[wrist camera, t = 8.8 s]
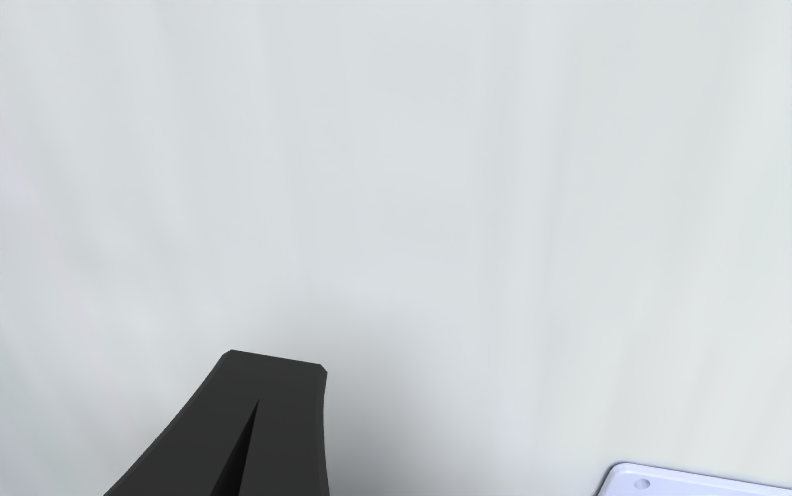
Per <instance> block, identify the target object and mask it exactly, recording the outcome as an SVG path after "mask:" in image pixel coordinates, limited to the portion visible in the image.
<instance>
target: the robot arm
mask: <svg viewBox="0 0 792 496" xmlns="http://www.w3.org/2000/svg"><path fill="white" fill-rule="evenodd" d="M326 379H327V371H326V370H325V369H324V368H323V367H322V366H321V364H315V363H309V362H303V361H297V360H291V359H285V358H279V357H273V356H267V355H261V354H255V353H249V352H243V351H237V350H230V351H228V352H226V353H225V354H223V355H222V356H221V358H220V359H219V361H218V362H217V364H216V365H215V367H214V368H213V369H212V371H211V372H210V373H209V375H208V376H207V377H206V379H205V380H204V381H203V383H202V384H201V385H200V387H199V388H198V389H197V391H196V392H195V393H194V394H193V396H192V397H191V398H190V399H189V401H188V402H187V403H186V404H185V406H184V407H183V408H182V409H181V410H180V412H179V413H178V414H177V415H176V416H175V418H174V419H173V420H172V421H171V422H170V424H169V425H168V426H167V427H166V428H165V429H164V431H163V432H162V433H161V434H160V435H159V436H158V437H157V438H156V439H155V441H154V442H153V443H152V444H151V445H150V446H149V447H148V448H147V450H146V451H145V452H144V453H143V454H142V455H141V456H140V457H139V459H138V460H137V461H136V462H135V463H134V464H133V465H132V466H131V467H130V469H129V470H128V471H127V472H126V473H125V474H124V475H123V476H122V477H121V478H120V479H119V480H118V481H117V482H116V483H115V484H114V485H113V486H112V487H111V488H110V489H109V490H108V491H107V492H106V493H105V494H104V495H103V496H330V494H329V486H328V479H327V471H326V460H325V447H324V426H323V407H324V393H325V386H326ZM598 496H792V490H789V489H783V488H777V487H771V486H765V485H758V484H752V483H746V482H740V481H734V480H728V479H722V478H716V477H710V476H704V475H698V474H692V473H686V472H679V471H673V470H667V469H661V468H655V467H649V466H643V465H637V464H631V463H622V464H618V465H616V466H614V467H613V468H612V469H611V471H610V472H609V474H608V476H607V478H606V480H605V482H604V484H603V486H602V488H601V490H600V492H599V494H598Z"/></svg>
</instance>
